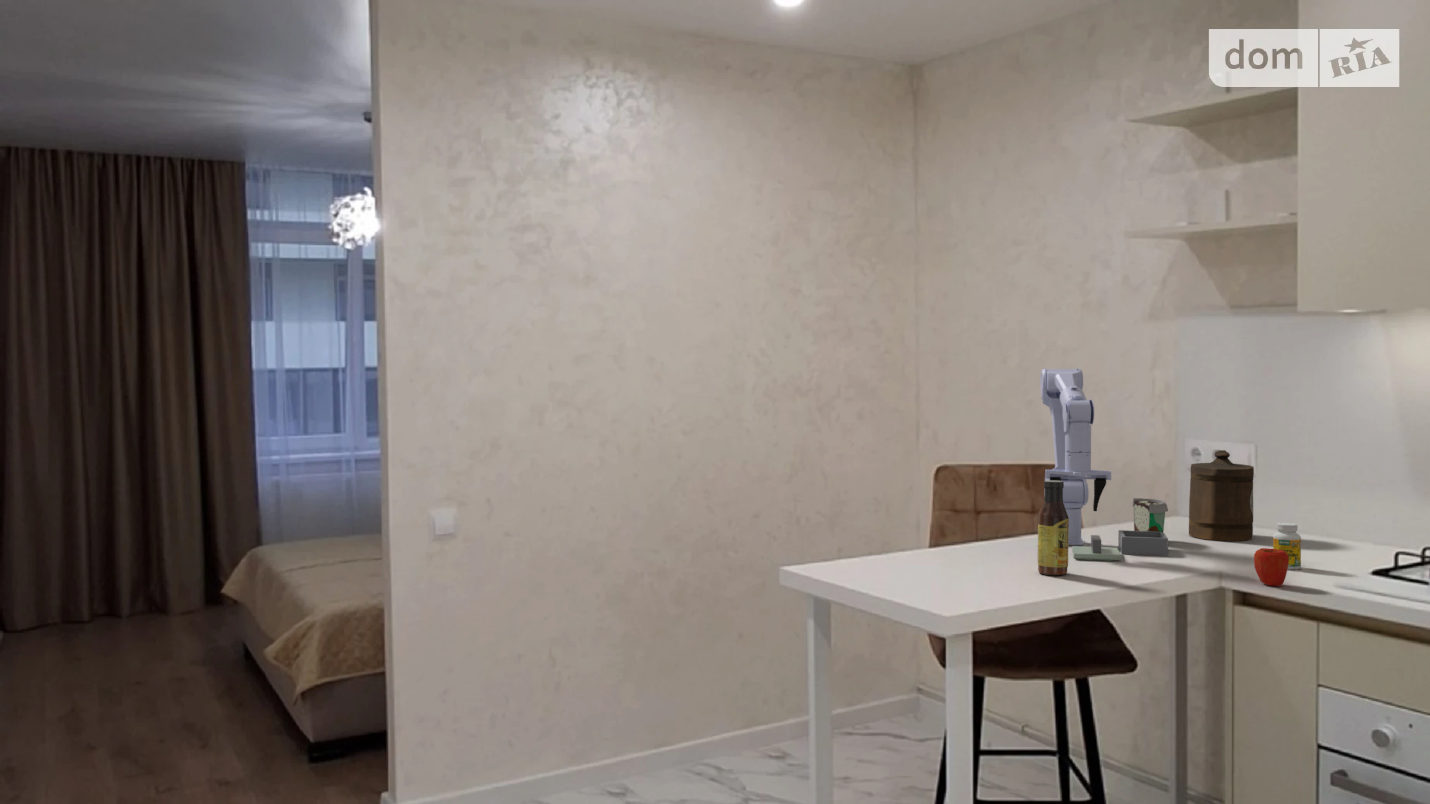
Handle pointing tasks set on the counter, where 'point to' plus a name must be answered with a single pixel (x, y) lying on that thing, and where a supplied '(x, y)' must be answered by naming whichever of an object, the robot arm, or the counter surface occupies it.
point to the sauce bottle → (1053, 531)
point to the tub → (1143, 542)
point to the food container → (1149, 514)
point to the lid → (1096, 551)
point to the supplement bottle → (1289, 543)
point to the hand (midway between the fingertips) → (1077, 510)
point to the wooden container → (1221, 500)
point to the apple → (1271, 566)
